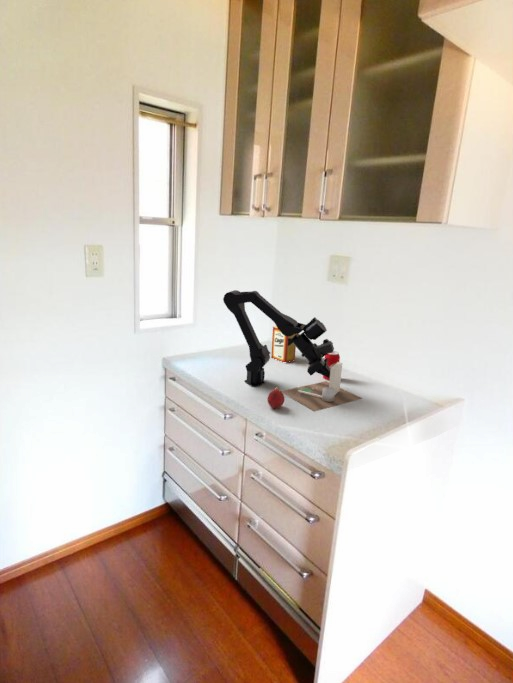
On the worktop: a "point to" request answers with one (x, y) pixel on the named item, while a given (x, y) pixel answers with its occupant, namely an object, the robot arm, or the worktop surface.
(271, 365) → the worktop surface
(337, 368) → the white panel with rod
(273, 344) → the baking soda box
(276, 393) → the red oval piece
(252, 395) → the worktop surface
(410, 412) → the worktop surface
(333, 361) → the beverage can
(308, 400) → the dial board
